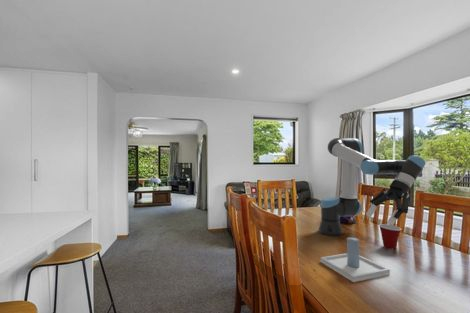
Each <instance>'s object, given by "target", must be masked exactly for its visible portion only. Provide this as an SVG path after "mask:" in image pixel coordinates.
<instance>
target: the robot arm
mask: <svg viewBox="0 0 470 313" xmlns="http://www.w3.org/2000/svg"><path fill="white" fill-rule="evenodd" d="M327 151H328V152H329V154H331V155H332V156H334V157H336V158H340V160H341V190H342V194H341V193H340V194H341V195H339V197H335V196H334V197H333V196H332V197H330V196H329V197H325V198H322V200H321V202H320V203H321V204H320V207H321V210H320V213H321V215H320V216H321V217H320V218H321V220H320V224H319V226H318V232H319V234H322V235H325V236H331V237H338V236H342V235H343V232H344V231H343V229H342V225H341V222H340V217H346V216H353V217H355V216H356V217H357V216H359V214H360V213H361V211H362V208H363V205H362V203H361V201H360V200H359V197H358V196H357V195H356V177H357V175H356V172H357V171H356V170H357V168H359V169H360V171H361V172H362V173H363V175H371V176H373V175H395V177H394V179H393V180H392V182H391V183H390V185H389V189H388V190H387V189H386V188H383V189H382V190H381V192H379V193H377V194H376V195H375V196H374V197H373V198H371V199H370V200H369V203H370V204H371V205H370V206H369V207H368V209H367V211H366V213H365V215H366V216H367V217H368V218H371V217H372V216H373V214H375V211H376V210H377V208H378V206H379V205H381V204H383V203H385V202H387V201H394V202H395V206H396V209H395V210H394V211H393V212H392V214H391V215H390V216H389V218H388V219H387V223H389V225H392V226H394V224H395V223H396V222H397V220H398V219H400V217H401V216H402V214H408V213H409V202H410V198H411V195H410V194H409V191H410V188H412V186H413V184H414V183H415V181H416V180H417V179H418V177H419V176H420V174H421V172H422V171H423V170H424V168H425V165H426V161H425V160H424V159H423V158H422V157H420V156H418V155H410V156H408V158H406V159H405V160H404V159H403V160H401V159H382V160H381V159H374V158H373V157H370V156H368V155H365V154H363V143H362V141H360V140H359V139H358V138H353V137H349V138H348V137H335V138H333V139H331V140H330V141H329V142H328V144H327ZM356 167H357V168H356Z"/></svg>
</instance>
